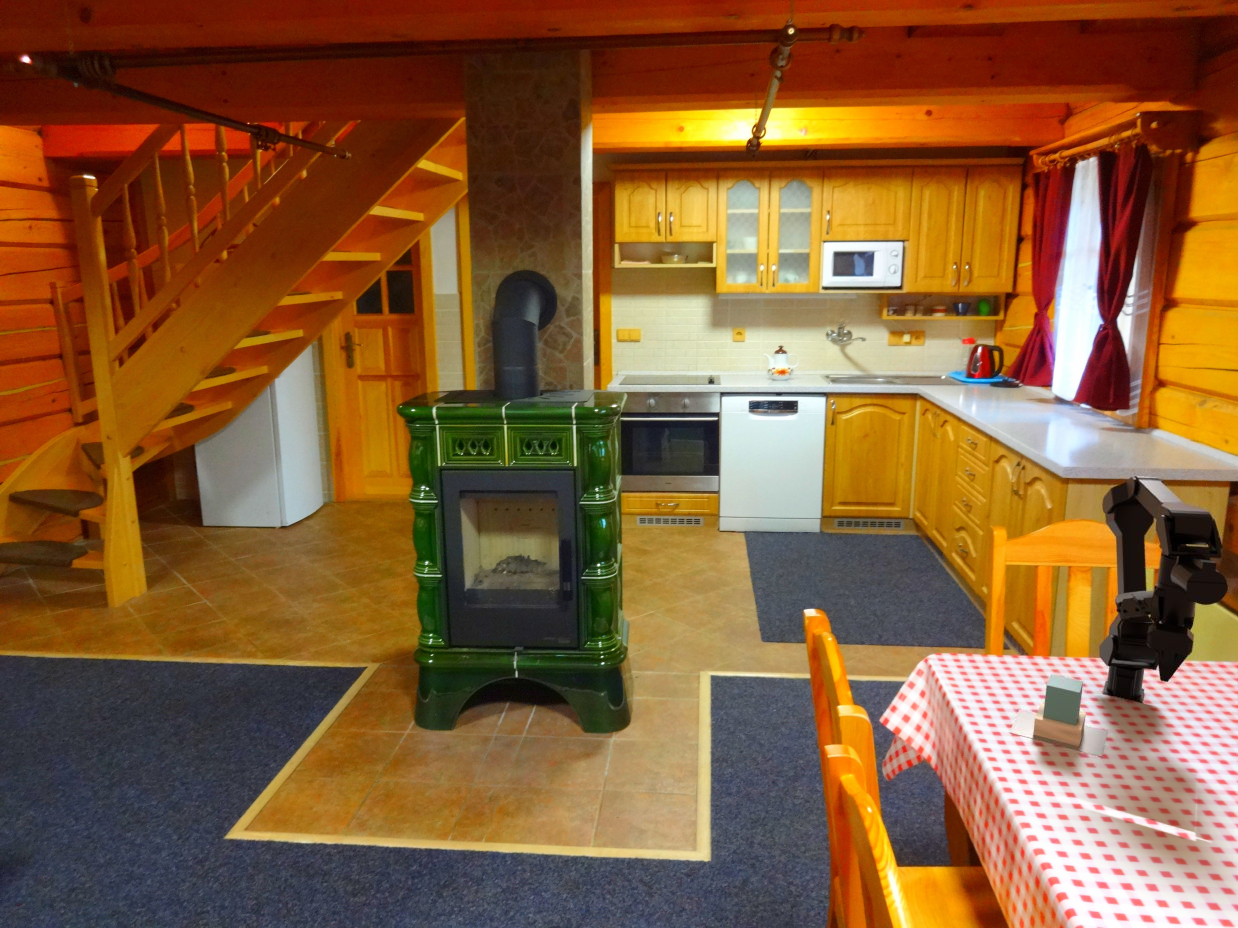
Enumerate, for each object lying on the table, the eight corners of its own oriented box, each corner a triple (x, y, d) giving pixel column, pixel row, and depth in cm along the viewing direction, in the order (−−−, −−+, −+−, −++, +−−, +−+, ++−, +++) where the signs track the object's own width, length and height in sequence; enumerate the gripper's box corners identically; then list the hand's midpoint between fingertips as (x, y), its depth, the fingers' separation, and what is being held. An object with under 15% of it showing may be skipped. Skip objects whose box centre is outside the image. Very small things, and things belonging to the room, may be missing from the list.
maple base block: (1039, 717, 155) (1041, 701, 154) (1084, 728, 151) (1085, 712, 150) (1033, 734, 149) (1034, 718, 148) (1078, 746, 145) (1080, 729, 144)
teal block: (1047, 705, 153) (1050, 673, 151) (1079, 713, 150) (1083, 681, 149) (1043, 717, 149) (1046, 684, 147) (1075, 725, 146) (1079, 692, 145)
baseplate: (1019, 711, 158) (1020, 708, 158) (1107, 733, 150) (1107, 730, 150) (1009, 735, 150) (1009, 732, 150) (1101, 759, 142) (1101, 756, 142)
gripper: (1126, 559, 156) (1115, 641, 159) (1116, 589, 141) (1105, 679, 144) (1200, 571, 150) (1188, 655, 153) (1199, 603, 135) (1185, 697, 138)
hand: (1165, 670), depth 147 cm, fingers open, 9 cm apart
